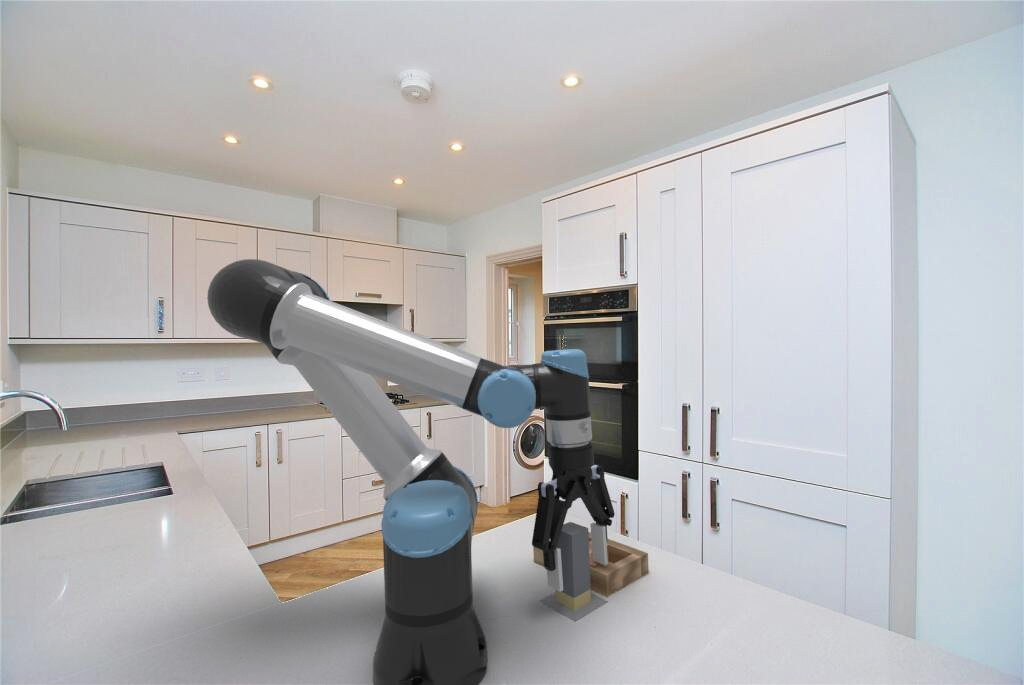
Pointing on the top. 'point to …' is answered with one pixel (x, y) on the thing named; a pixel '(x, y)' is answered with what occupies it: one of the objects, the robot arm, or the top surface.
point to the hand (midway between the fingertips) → (579, 574)
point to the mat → (572, 614)
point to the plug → (574, 566)
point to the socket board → (611, 567)
